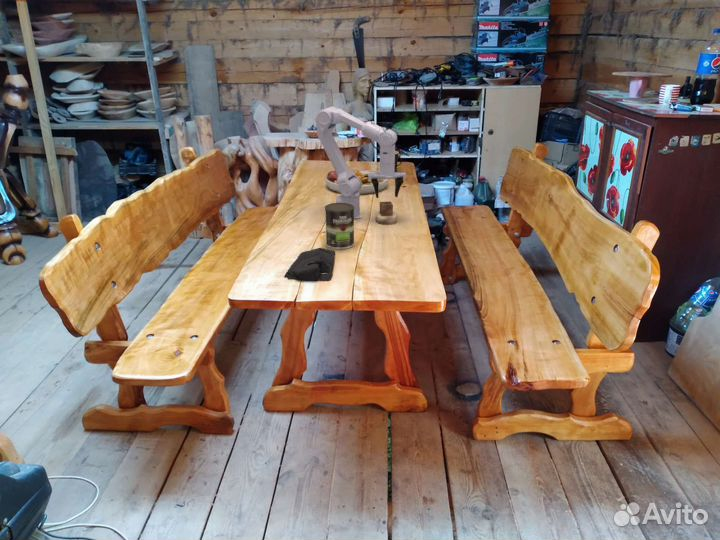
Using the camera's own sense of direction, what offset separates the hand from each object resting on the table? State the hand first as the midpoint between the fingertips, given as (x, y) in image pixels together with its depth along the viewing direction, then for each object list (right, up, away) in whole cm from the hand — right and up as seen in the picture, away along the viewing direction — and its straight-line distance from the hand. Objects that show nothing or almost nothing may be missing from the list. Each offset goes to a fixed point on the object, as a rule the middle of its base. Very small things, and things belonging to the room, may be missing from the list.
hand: (386, 196), depth 218 cm
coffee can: (-18, -20, -19) cm, 32 cm away
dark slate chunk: (-26, -29, -37) cm, 53 cm away
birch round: (0, -10, +3) cm, 10 cm away
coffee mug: (+6, +23, +75) cm, 78 cm away
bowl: (-12, +11, +49) cm, 52 cm away
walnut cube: (0, -7, +2) cm, 7 cm away
